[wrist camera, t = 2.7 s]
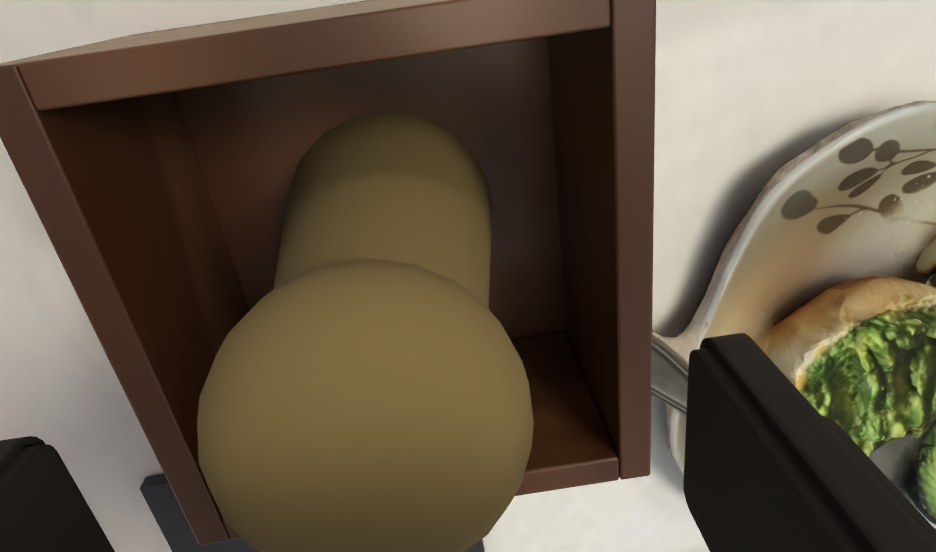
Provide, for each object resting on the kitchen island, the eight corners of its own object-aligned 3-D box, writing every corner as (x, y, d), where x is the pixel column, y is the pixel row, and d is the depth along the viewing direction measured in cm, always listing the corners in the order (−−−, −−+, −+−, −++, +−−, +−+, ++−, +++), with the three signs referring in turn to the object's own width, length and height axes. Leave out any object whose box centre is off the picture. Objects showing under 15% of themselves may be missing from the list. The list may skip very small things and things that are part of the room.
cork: (337, 326, 20) (259, 681, 10) (251, 152, 17) (22, 401, 7) (515, 269, 19) (620, 581, 9) (456, 82, 16) (518, 243, 7)
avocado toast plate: (539, 493, 24) (565, 598, 20) (700, 27, 17) (792, 45, 13) (945, 531, 28) (1039, 629, 23) (1236, 151, 20) (1449, 197, 16)
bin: (259, 386, 21) (198, 546, 15) (132, 34, 16) (-34, 70, 10) (585, 337, 21) (651, 476, 15) (568, -30, 16) (658, -31, 10)
